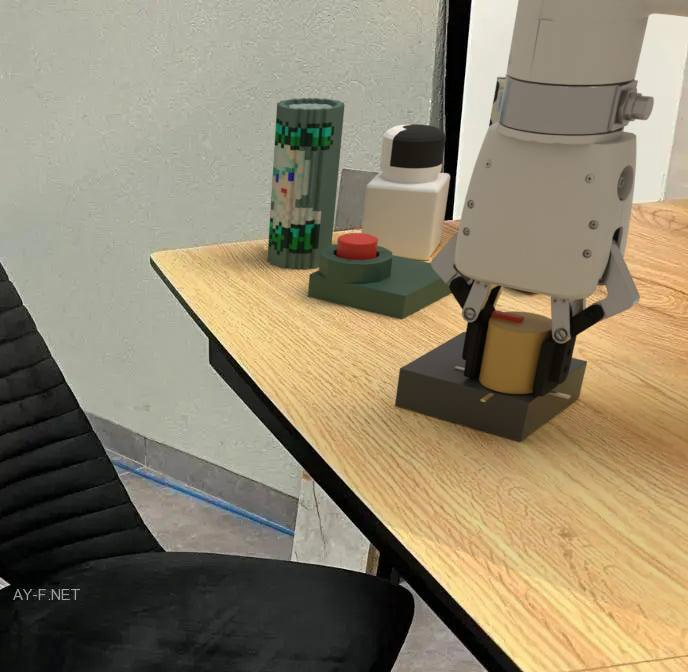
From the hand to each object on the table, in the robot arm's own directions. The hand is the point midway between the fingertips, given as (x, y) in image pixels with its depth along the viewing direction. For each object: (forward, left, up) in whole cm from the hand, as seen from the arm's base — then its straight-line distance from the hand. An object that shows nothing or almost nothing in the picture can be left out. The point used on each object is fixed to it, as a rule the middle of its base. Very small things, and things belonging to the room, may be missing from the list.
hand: (511, 378), depth 82 cm
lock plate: (+2, -2, -3) cm, 4 cm away
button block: (+21, -20, -3) cm, 29 cm away
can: (+33, -24, -4) cm, 41 cm away
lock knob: (0, 0, 0) cm, 0 cm away
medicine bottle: (+27, -34, -4) cm, 43 cm away
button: (+23, -18, 0) cm, 29 cm away
